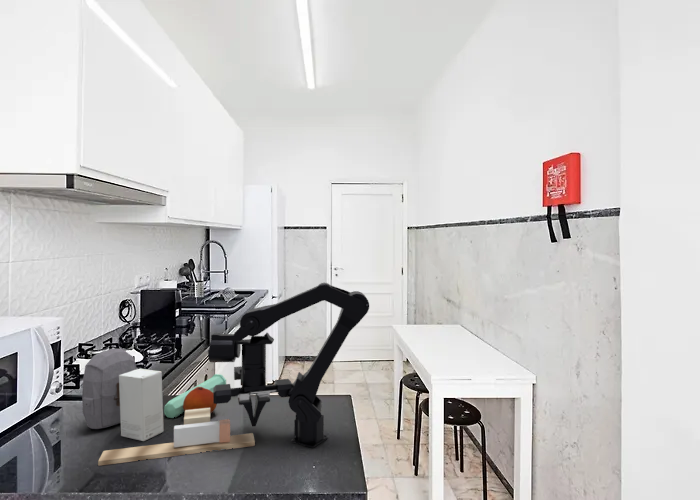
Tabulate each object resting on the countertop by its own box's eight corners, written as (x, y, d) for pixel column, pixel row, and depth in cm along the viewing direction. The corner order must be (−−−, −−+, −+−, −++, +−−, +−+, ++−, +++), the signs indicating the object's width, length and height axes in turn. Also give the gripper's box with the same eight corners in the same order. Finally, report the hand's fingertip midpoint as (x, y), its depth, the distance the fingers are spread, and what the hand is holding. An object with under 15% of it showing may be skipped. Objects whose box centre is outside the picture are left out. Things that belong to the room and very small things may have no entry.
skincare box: (164, 432, 112) (164, 371, 112) (142, 443, 106) (142, 378, 106) (140, 426, 115) (140, 367, 115) (118, 436, 109) (118, 373, 109)
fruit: (211, 422, 118) (211, 392, 118) (178, 422, 119) (178, 392, 118) (221, 410, 127) (221, 382, 127) (190, 409, 127) (191, 382, 127)
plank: (252, 437, 109) (252, 433, 109) (254, 445, 105) (254, 441, 105) (103, 455, 100) (103, 450, 100) (98, 465, 95) (98, 461, 95)
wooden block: (210, 441, 107) (210, 416, 107) (183, 444, 105) (183, 419, 105) (210, 431, 113) (210, 407, 113) (185, 433, 111) (185, 410, 111)
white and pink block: (229, 436, 107) (229, 418, 107) (230, 441, 104) (230, 423, 104) (174, 442, 103) (174, 424, 103) (173, 448, 100) (173, 430, 100)
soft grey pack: (126, 412, 125) (126, 341, 125) (148, 416, 122) (148, 344, 122) (74, 432, 111) (74, 353, 111) (97, 438, 108) (97, 357, 108)
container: (173, 398, 120) (223, 371, 144) (156, 404, 121) (208, 376, 146) (180, 418, 119) (229, 388, 144) (163, 424, 121) (214, 393, 145)
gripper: (286, 351, 117) (286, 409, 118) (213, 356, 112) (213, 417, 112) (294, 362, 107) (294, 426, 107) (213, 368, 101) (213, 436, 101)
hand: (253, 425), depth 107 cm, fingers closed
